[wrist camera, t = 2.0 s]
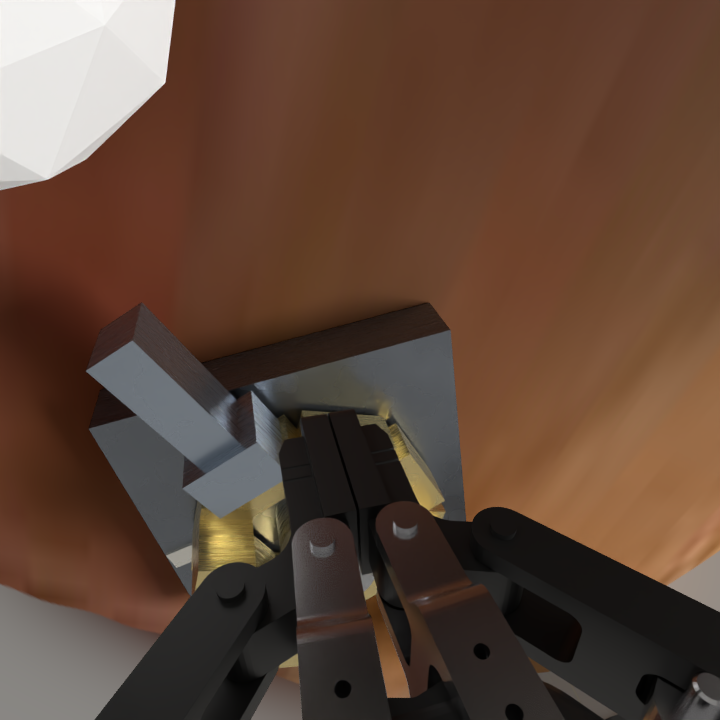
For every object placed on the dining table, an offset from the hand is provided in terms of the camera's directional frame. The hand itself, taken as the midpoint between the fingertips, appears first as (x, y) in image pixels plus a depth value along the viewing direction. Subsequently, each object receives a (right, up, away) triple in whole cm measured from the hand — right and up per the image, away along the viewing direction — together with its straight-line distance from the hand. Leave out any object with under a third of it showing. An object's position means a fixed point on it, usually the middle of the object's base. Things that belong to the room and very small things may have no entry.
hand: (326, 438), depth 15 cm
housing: (-2, -4, +17) cm, 18 cm away
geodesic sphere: (-11, +16, +2) cm, 20 cm away
